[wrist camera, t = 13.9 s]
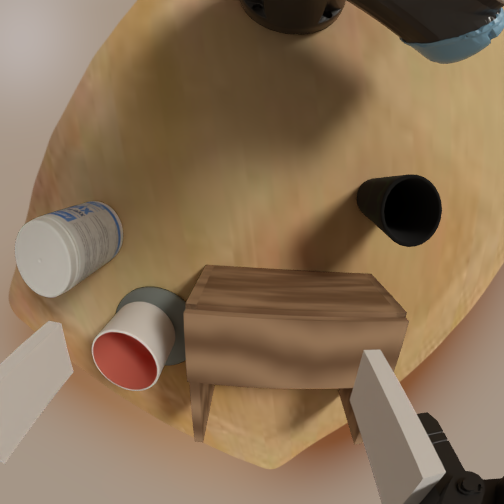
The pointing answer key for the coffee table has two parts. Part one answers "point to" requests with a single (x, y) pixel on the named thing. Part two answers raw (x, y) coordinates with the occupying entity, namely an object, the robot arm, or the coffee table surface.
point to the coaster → (173, 310)
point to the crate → (285, 332)
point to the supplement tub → (67, 246)
